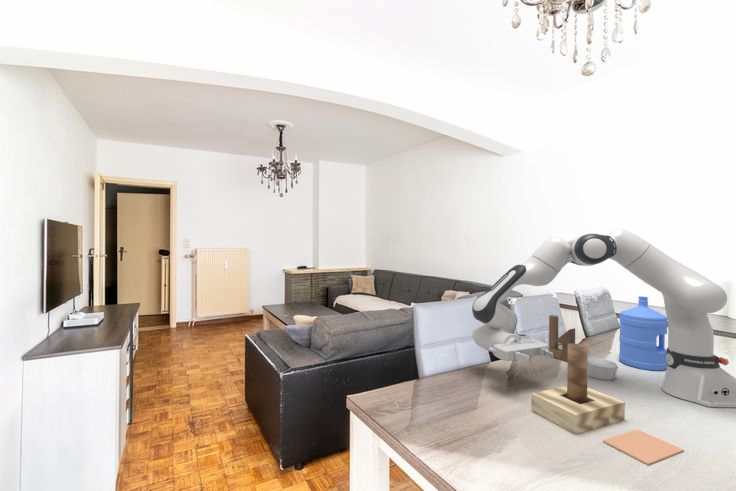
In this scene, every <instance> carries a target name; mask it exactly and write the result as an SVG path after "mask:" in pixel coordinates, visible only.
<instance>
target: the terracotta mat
mask: <svg viewBox="0 0 736 491" xmlns="http://www.w3.org/2000/svg"><path fill="white" fill-rule="evenodd" d="M602 443H604V444H606V445H607V446H610V447H611V448H614V449H616V450H618V451H619V452H621V453H623V454H625V455H627V456H628V457H629V456H630V458H633V459H634V460H637V461H639V462H640V463H642V464H644V465H646V466H650V465H653V464H656V463H658V462H661V461H663V460H666V459H668V458H671V457H673V456H676V455H679V454H681V453H684V451H685V450H684V449H682V448H680V447H679V446H675V445H674V444H671V443H669V442H667V441H665V440H663V439H661V438H658V437H656V436H654V435H651V434H649V433H647V432H645V431H642V430H640V429H638V428H637V429H634V430H631V431H628V432H624V433H621V434H619V435H615V436H612V437H609V438H606V439H604V440H602Z"/></svg>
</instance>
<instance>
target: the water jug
mask: <svg viewBox="0 0 736 491" xmlns="http://www.w3.org/2000/svg"><path fill="white" fill-rule="evenodd" d="M648 299H649V297H648V296H638V300H637V302H638V305H637V306H636V307H632V308H629V309H624V310H621V311H620V312H619V336H618V337H619V354H618V359H619V361H620V362H621V363H622V364H624V365H627V366H629V367H632V368H636V369H640V370H647V371H663V370H664V371H665V370H667V363H666V350H667V348H666V347H665V346H666V345H665V340H666V337H665V336H666V335H668V320H667V315H666V314H665V315H664V314H663V313H660V312H659V311H657V310H654V309H652V308H650V307H649V305H648V304H649V300H648ZM657 340H658V345H657Z"/></svg>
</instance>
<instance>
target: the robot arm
mask: <svg viewBox="0 0 736 491" xmlns="http://www.w3.org/2000/svg"><path fill="white" fill-rule="evenodd" d="M608 259H609V260H610V259H611V260H612V261H614V262H616V263H617V264H618V265H620V266H621V267H623V268H625V269H626V270H627V271H628V272H630V273H631V274H633V275H634V276H635V277H637V278H638V279H639V280H641V281H642V282H644V283H645V284H647V285H649V286H650V287H652V288H654V289H655V290H657V291H658V292H660V293H661V295H662V297H663V304H664V308H665V309H664V310H665V316H666V317H667V321H668V327H667V335H668V336H667V340H668V341H667V342H668V343H667V344H668V345H667V347H666V363H667V368H666V369H665V370H666V371H665V374H664V375H665V376H664V378H663V379H664V380H663V383H662V386H661V390H662V391H663V392H665V393H666V394H668V395H671V396H672V397H673V396H674V397H676V398H679V399H680V400H681V399H682V400H685V401H688V402H692V403H693V402H694V403H697V404H700V405H703V406H704V407H710V408H736V377H734V376H733V375H732V374H730V373H729V372H727V370H725V369H723V368H722V367H721V366H720V364H721V365H723V366H728V365H729V364H730V361H729V360H728V359H727V358H725V357H719V356H717V355H715V354H714V346H715V345H714V340H715V339H714V335H715V332H714V329H713V327H712V325H711V323H710V319H709V315H708V314H713V313H717V312H719V311H721V310H722V309H723V308H724V307H725V306H726V305H727V303H728V295H727V292H726V291H725V290H724V288H722V286H720V285H719V284H718V283H715V282H713V281H712V280H711V279H709V278H707V277H706V276H703V275H702V274H700V273H698V272H697V271H695V270H694V269H691V268H690V267H688V266H687V265H684V264H683V263H681V262H679V261H677V260H675V259H674V258H672V257H671V256H669V255H668V254H666V253H665V252H663V251H662V250H660V249H659V248H657V247H656V246H654V245H653V244H651V243H649V242H648V241H646V240H645V239H643V238H641V237H640V236H638V235H636V234H635V233H633V232H630V231H628V230H626V229H621V228H618V229H614V230H611V231H610V232H608V233H607V234H606V235H605V234H598V233H587V234H582V235H580V236H578V237H576V238H575V239H572V240H570V241H566V240H565V239H564V238H562V237H557V236H553V237H552V236H551V237H549V238H548V239H546V241H544V242H543V243H542V244H541V245H539V247H537V249H536V250H535V251H534V252H533V253H532V255H531V256H530V257H529V258H528V259H527V260H526V261H524V262H523V263H521V264H516V265H514V266H513V267H511V268H510V269H508V270H507V272H505V273H504V274H503V275H502V276H501V277H500V278H498V280H496V282H494V284H493V285H492V286H491V287H490V288H489V289H487V290H486V291H485V292H484V293H483V294H481V295H479V296H478V297H476V299H475V300H474V302H473V303H472V306H471V307H472V308H471V309H472V315H473V318H474V319H475V320H477V321H479V322H481V324H479V325H476V326H474V328H473V329H472V339H473V341H474V343H475V344H476V345H477V346H478V347H479V348H481V349H484V350H486V351H488V352H491V353H492V354H493V356H494V357H496V358H498V359H499V360H501V361H504V362H511V361H518V360H519V361H525V362H527V363H530V362H532V358H538V357H545V358H546V359H553V358H554V357H553V353H552V352H549V343H546V342H543V341H541V340H539V339H536V338H532V337H530V336H529V335H526V334H518V333H514V331H515V330H516V327H517V324H518V317H517V314H516V313H515V312H514V311H513V310H511V309H510V308H509V307H507V306H505V305H504V304H502V303H501V301H502V300H503V298H505V296H507V295H508V294H509V293H510V292H511V291H512V290H513V289H514V288H515V287H517V286H520V285H527V286H534V287H542V286H547V285H549V284H550V283H551V282H552V281H554V279H555V278H556V277H557V276H558V275H559V273H560V272H561V271H562V270H563V268H564V267H565V266H566V265H567V264H569V263H570V264H574V265H577V266H581V267H582V266H585V267H587V266H588V267H590V266H595V265H598V264H601V263H604V262H606V261H607V260H608Z"/></svg>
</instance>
